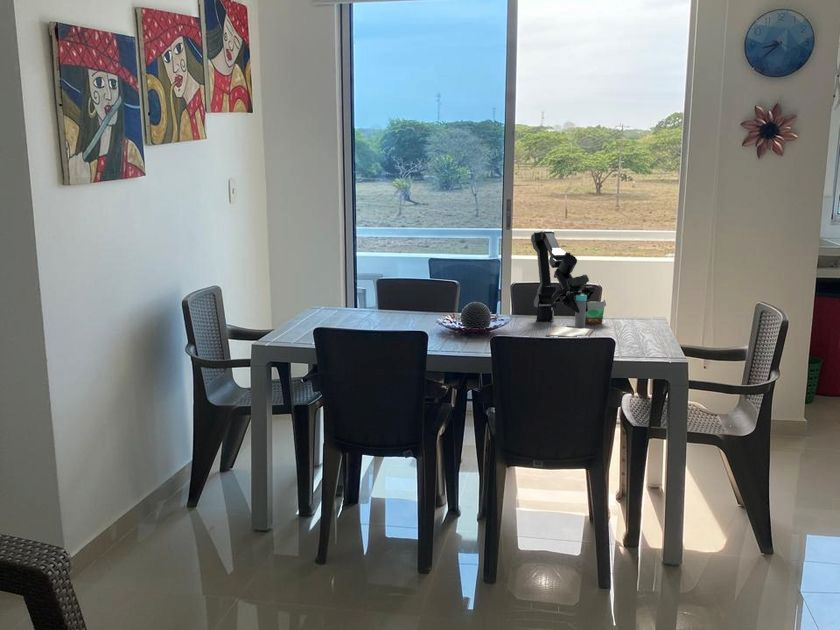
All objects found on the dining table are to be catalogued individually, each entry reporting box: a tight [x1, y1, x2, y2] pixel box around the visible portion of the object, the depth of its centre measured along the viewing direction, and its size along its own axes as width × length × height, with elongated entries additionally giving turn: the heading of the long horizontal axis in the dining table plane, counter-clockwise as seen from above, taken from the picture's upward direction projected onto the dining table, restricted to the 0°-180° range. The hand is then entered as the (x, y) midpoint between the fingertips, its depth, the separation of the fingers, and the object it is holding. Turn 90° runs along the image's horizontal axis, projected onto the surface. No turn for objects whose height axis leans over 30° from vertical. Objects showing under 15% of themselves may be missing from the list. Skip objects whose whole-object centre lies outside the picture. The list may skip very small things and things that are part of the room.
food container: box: [585, 299, 607, 326], centre depth 346 cm, size 12×6×10 cm, turn 101°
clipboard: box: [545, 324, 595, 337], centre depth 329 cm, size 16×19×1 cm
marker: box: [574, 294, 588, 329], centre depth 321 cm, size 4×4×13 cm
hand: (582, 311), depth 320 cm, fingers closed on marker, 4 cm apart
